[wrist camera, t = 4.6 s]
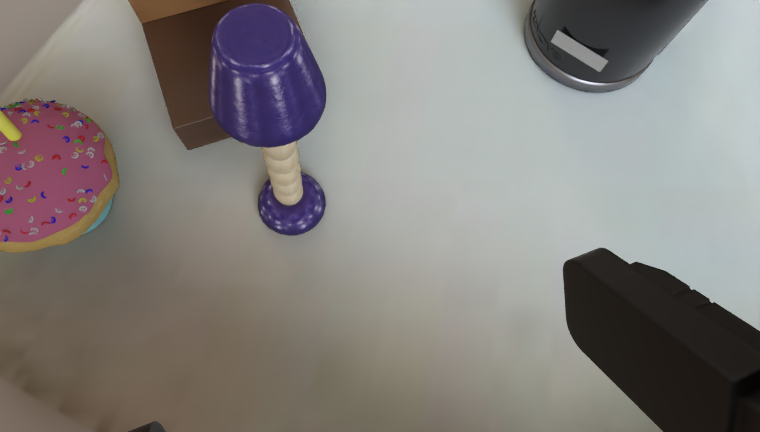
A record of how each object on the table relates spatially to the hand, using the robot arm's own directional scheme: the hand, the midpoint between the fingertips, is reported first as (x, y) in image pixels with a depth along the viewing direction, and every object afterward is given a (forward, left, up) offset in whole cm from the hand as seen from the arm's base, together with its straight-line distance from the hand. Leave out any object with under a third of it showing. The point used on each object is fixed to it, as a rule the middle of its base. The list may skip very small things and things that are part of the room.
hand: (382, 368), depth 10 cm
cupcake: (+13, -17, -21) cm, 30 cm away
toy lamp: (0, -12, -21) cm, 24 cm away
